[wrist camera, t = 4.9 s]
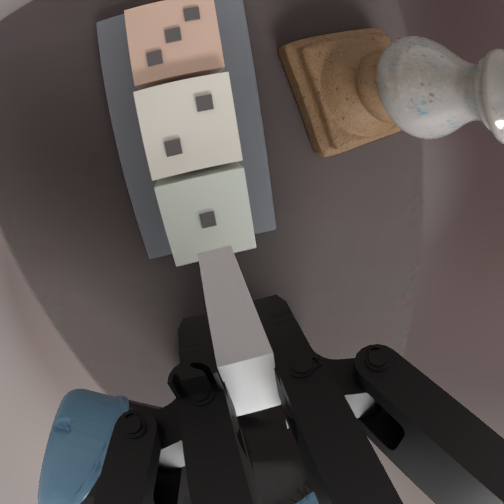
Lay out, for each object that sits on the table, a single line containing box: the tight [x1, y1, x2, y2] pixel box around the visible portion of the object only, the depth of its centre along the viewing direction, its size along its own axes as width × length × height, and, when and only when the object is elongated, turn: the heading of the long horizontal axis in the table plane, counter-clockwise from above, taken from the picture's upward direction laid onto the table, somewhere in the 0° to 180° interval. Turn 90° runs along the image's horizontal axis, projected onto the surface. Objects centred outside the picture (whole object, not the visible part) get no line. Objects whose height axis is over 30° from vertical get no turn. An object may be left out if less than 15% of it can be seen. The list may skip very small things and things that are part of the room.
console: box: [96, 0, 276, 259], centre depth 21 cm, size 22×12×4 cm, turn 8°
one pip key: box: [154, 162, 256, 267], centre depth 21 cm, size 6×6×4 cm
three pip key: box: [124, 0, 225, 90], centre depth 16 cm, size 6×6×4 cm
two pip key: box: [133, 72, 243, 181], centre depth 18 cm, size 6×6×4 cm
